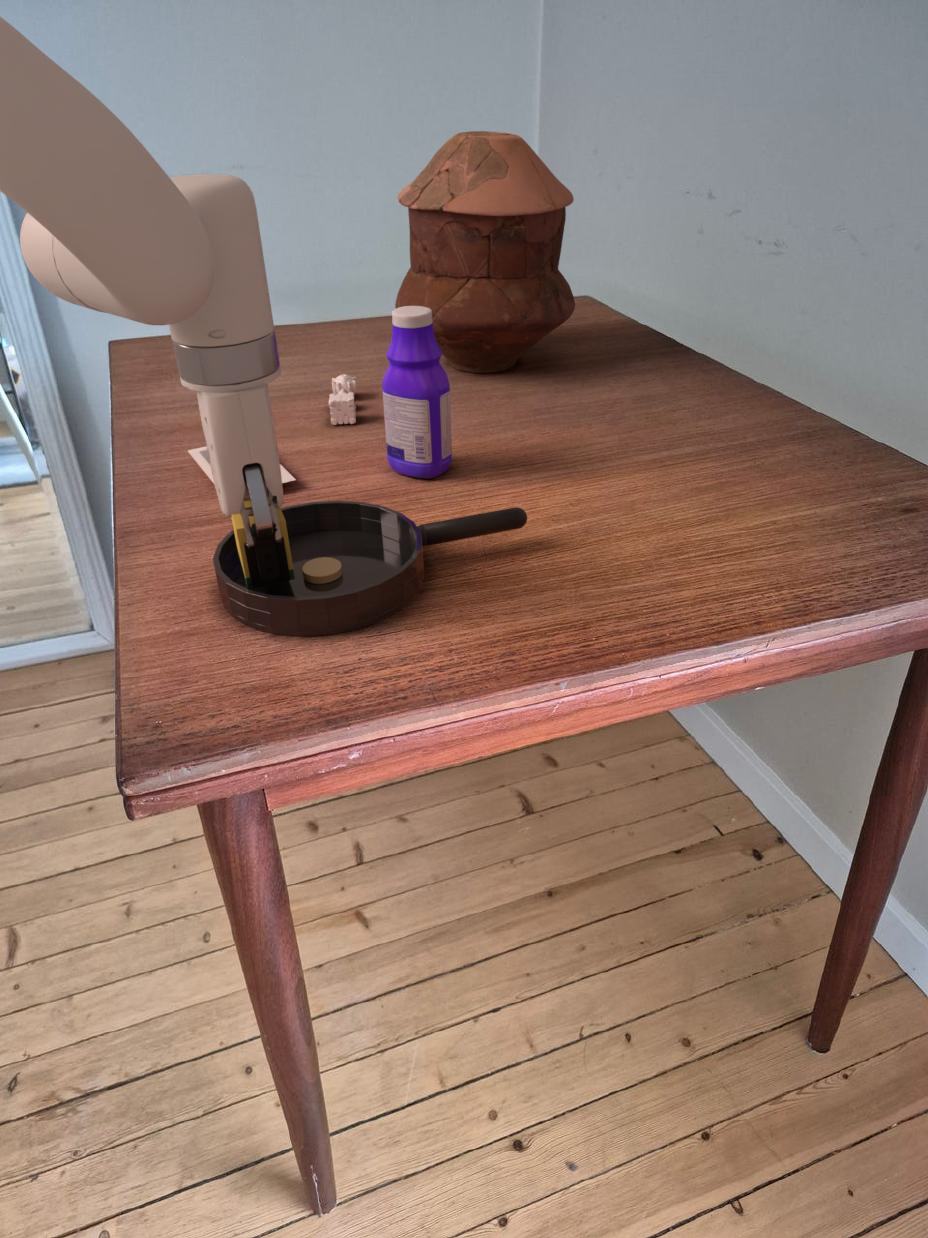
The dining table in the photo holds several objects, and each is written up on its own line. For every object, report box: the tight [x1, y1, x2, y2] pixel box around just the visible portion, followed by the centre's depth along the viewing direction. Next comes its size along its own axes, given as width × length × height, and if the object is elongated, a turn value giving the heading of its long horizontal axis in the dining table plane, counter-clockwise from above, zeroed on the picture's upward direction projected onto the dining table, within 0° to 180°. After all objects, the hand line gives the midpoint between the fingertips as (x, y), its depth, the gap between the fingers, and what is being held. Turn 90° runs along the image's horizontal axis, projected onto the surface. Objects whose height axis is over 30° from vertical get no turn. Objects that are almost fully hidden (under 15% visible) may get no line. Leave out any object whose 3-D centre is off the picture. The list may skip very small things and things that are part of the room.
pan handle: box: [416, 506, 528, 547], centre depth 82 cm, size 11×2×2 cm, turn 109°
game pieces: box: [328, 373, 358, 426], centre depth 116 cm, size 12×3×3 cm, turn 5°
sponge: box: [230, 497, 295, 588], centre depth 76 cm, size 4×6×6 cm
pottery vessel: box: [394, 130, 576, 374], centre depth 124 cm, size 26×26×30 cm
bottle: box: [381, 306, 453, 480], centre depth 95 cm, size 7×6×17 cm
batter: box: [302, 557, 342, 584], centre depth 80 cm, size 4×4×1 cm
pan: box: [212, 500, 425, 637], centre depth 79 cm, size 18×18×4 cm
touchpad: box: [186, 446, 297, 486], centre depth 100 cm, size 8×15×2 cm, turn 29°
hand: (265, 564), depth 78 cm, fingers closed on sponge, 5 cm apart
